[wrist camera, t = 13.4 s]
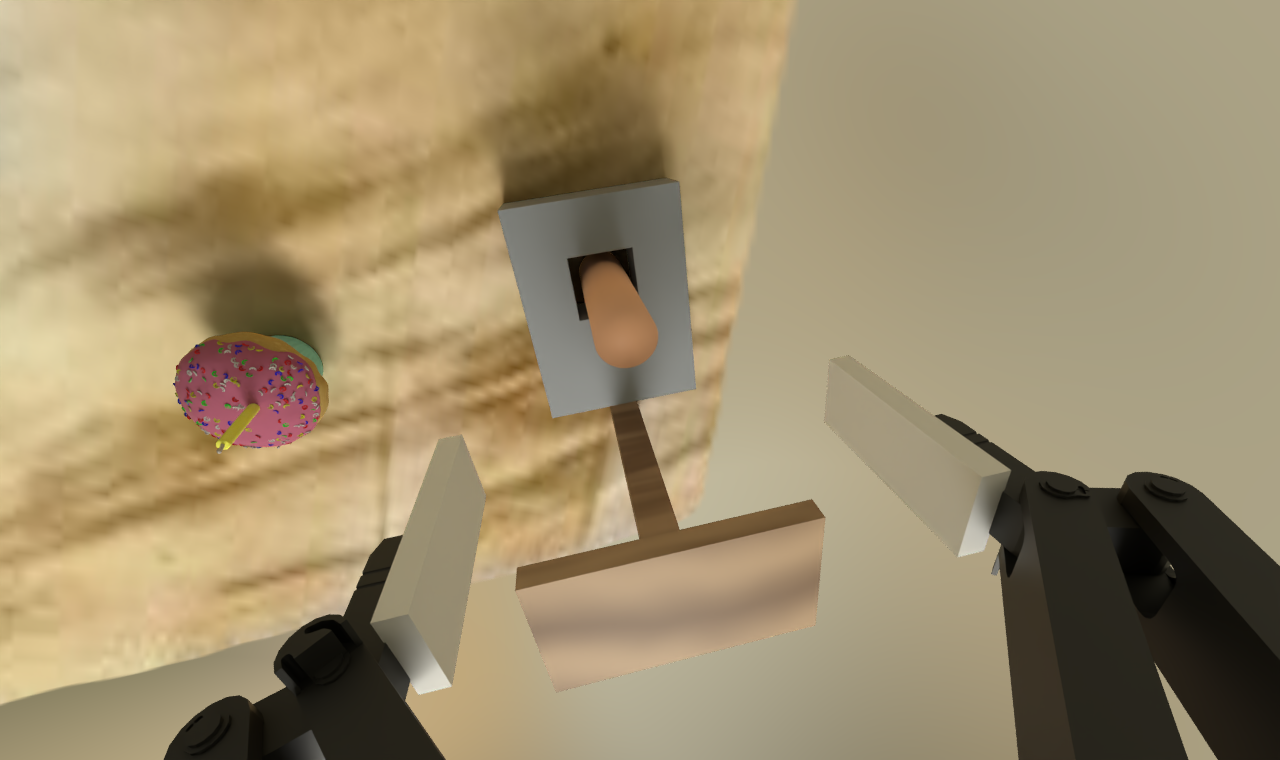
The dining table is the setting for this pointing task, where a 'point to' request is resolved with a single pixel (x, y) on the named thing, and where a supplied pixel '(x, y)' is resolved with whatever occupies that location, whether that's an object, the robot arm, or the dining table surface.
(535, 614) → the wooden t-shaped stand
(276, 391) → the cupcake
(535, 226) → the socket block
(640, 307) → the peg
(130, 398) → the dining table surface
